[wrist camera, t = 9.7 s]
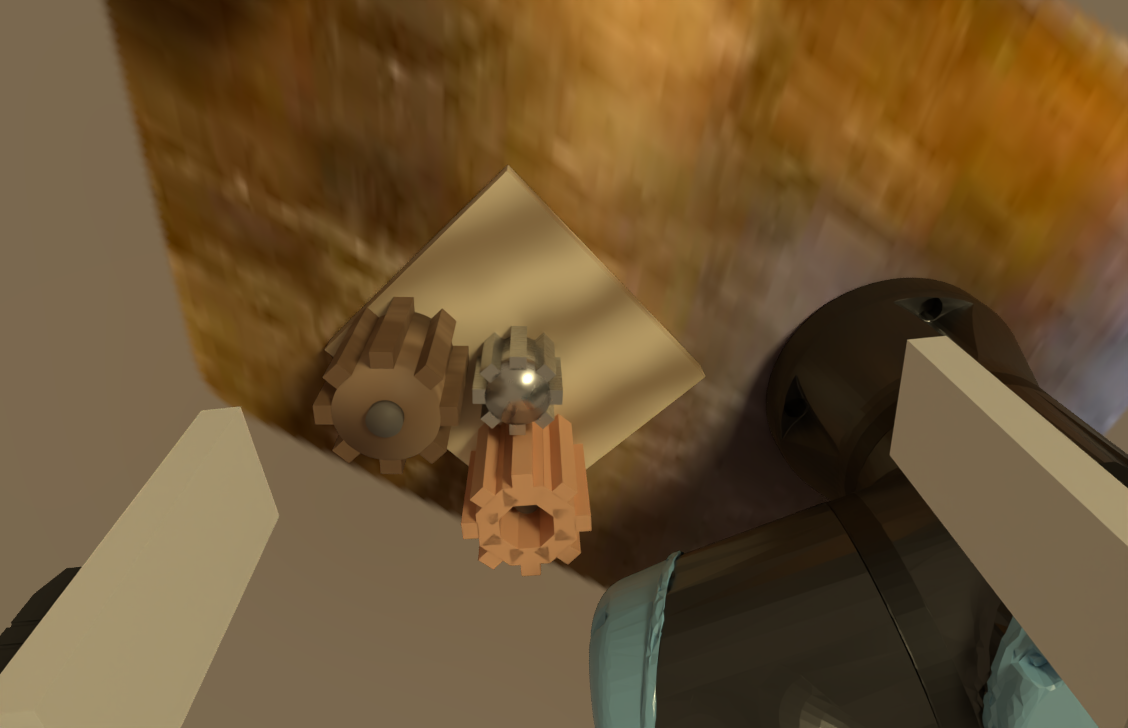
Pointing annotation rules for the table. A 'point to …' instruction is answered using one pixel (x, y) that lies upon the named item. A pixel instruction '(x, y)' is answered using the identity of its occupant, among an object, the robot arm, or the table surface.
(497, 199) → the carrier
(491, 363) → the sun gear
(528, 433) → the planet gear
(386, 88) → the table surface
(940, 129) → the table surface
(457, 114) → the table surface
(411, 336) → the pinned planet gear
